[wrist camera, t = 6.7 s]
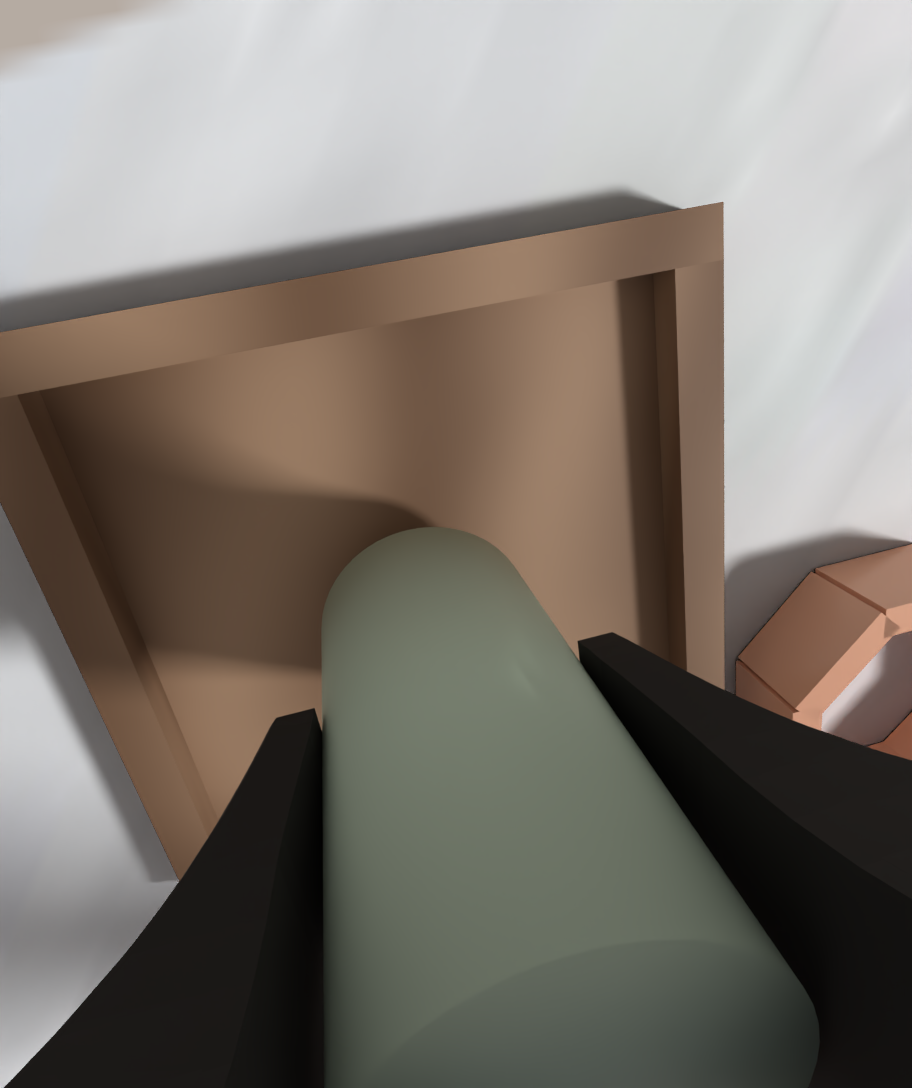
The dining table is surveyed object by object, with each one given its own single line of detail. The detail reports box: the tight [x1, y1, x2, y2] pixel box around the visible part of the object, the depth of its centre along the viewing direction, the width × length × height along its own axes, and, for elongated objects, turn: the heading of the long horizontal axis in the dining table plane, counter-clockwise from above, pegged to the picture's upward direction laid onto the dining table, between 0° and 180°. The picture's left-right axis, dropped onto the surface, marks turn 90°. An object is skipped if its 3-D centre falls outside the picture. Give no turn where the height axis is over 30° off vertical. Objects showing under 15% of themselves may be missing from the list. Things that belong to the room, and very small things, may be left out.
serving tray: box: [0, 202, 725, 881], centre depth 15 cm, size 14×14×1 cm
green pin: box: [321, 527, 820, 1088], centre depth 10 cm, size 4×4×9 cm
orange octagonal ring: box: [736, 544, 912, 760], centre depth 18 cm, size 8×8×2 cm
